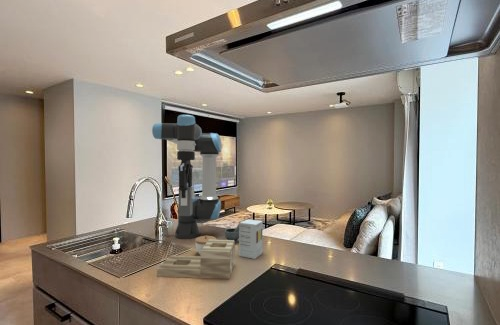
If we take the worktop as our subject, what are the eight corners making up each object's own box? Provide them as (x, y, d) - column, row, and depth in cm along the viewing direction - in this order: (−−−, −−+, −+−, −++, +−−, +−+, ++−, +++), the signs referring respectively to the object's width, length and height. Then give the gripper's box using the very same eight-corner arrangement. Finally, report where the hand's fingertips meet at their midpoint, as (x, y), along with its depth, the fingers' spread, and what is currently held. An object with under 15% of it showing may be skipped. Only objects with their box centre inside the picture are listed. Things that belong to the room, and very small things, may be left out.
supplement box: (255, 259, 124) (255, 224, 124) (238, 256, 128) (238, 222, 128) (262, 253, 133) (263, 220, 133) (246, 250, 137) (247, 218, 137)
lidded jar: (191, 257, 126) (191, 238, 126) (199, 249, 137) (199, 232, 137) (212, 258, 125) (212, 239, 124) (218, 251, 135) (219, 233, 135)
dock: (170, 261, 120) (170, 238, 120) (234, 264, 118) (234, 240, 118) (157, 276, 105) (157, 249, 105) (229, 278, 103) (229, 251, 103)
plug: (181, 213, 114) (181, 182, 114) (194, 214, 114) (194, 182, 114) (178, 215, 110) (178, 183, 110) (191, 216, 110) (192, 183, 110)
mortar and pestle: (222, 244, 147) (222, 223, 147) (227, 239, 156) (227, 219, 156) (241, 245, 144) (241, 224, 144) (245, 240, 153) (245, 220, 153)
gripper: (189, 150, 103) (188, 208, 103) (199, 151, 120) (198, 201, 120) (170, 150, 103) (170, 208, 104) (183, 151, 120) (183, 201, 121)
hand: (185, 204), depth 112 cm, fingers closed on plug, 4 cm apart
